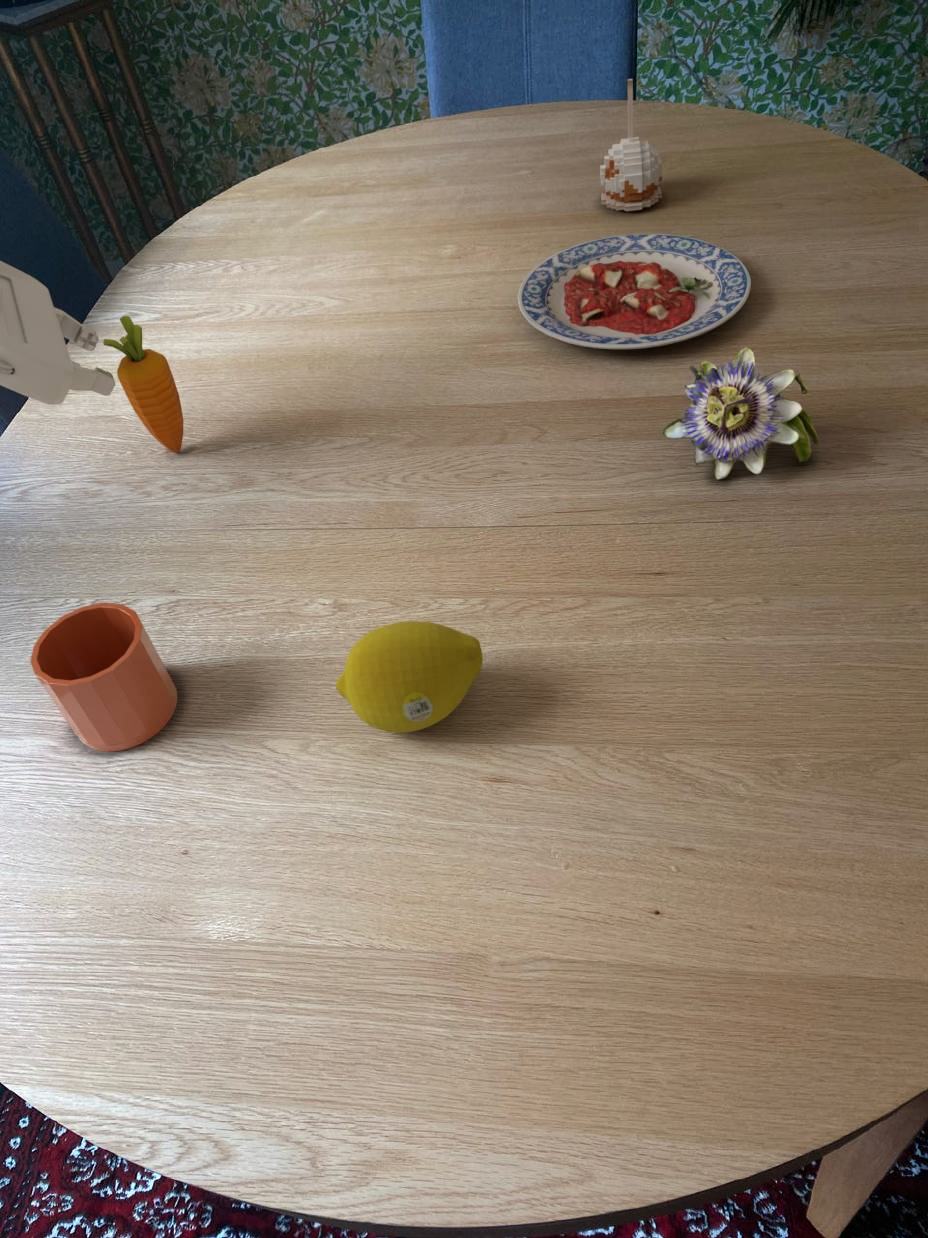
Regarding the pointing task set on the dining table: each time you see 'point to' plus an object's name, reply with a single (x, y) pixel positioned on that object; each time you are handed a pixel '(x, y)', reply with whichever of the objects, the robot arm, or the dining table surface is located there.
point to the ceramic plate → (634, 291)
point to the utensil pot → (105, 676)
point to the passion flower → (742, 415)
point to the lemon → (409, 674)
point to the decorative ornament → (631, 170)
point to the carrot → (149, 387)
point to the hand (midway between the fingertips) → (103, 362)
